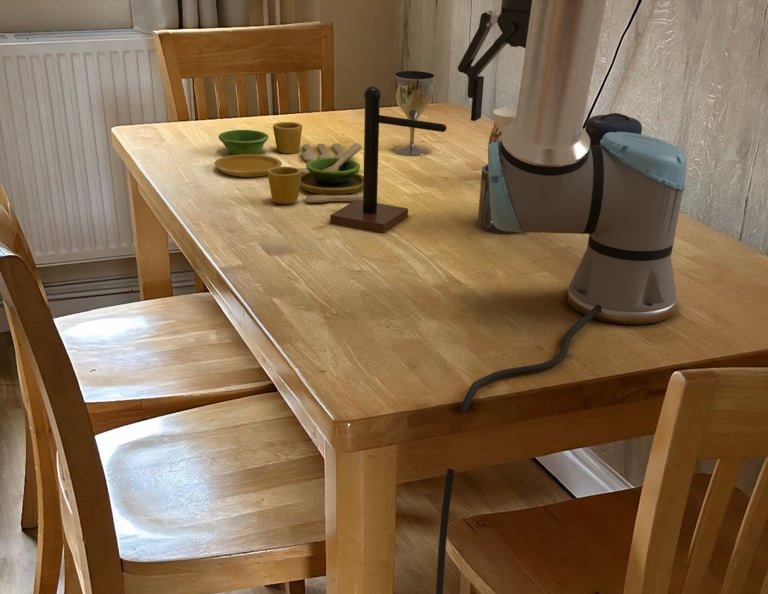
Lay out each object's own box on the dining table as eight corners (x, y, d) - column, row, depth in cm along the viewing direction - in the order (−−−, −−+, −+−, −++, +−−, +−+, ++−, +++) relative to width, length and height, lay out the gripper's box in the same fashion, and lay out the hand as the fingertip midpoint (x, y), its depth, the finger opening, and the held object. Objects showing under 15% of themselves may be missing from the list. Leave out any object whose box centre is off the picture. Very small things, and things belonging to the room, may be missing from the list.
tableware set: (377, 204, 188) (378, 169, 185) (220, 209, 184) (218, 172, 181) (344, 144, 223) (344, 113, 219) (211, 146, 218) (209, 115, 215)
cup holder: (428, 241, 173) (435, 102, 161) (330, 223, 179) (330, 88, 167) (451, 224, 181) (459, 90, 169) (356, 207, 187) (358, 77, 175)
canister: (627, 230, 181) (645, 121, 171) (572, 225, 182) (586, 117, 173) (628, 213, 189) (644, 109, 179) (574, 208, 190) (588, 104, 181)
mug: (487, 214, 186) (492, 160, 181) (534, 222, 183) (540, 167, 178) (460, 236, 176) (464, 178, 171) (509, 244, 173) (514, 186, 168)
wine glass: (406, 143, 225) (409, 69, 217) (437, 150, 221) (442, 74, 213) (384, 151, 219) (387, 75, 211) (416, 158, 215) (419, 80, 207)
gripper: (614, -14, 160) (595, 130, 171) (461, -28, 168) (452, 110, 180) (600, -8, 154) (581, 140, 165) (443, -23, 162) (435, 119, 174)
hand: (514, 124), depth 173 cm, fingers open, 13 cm apart
